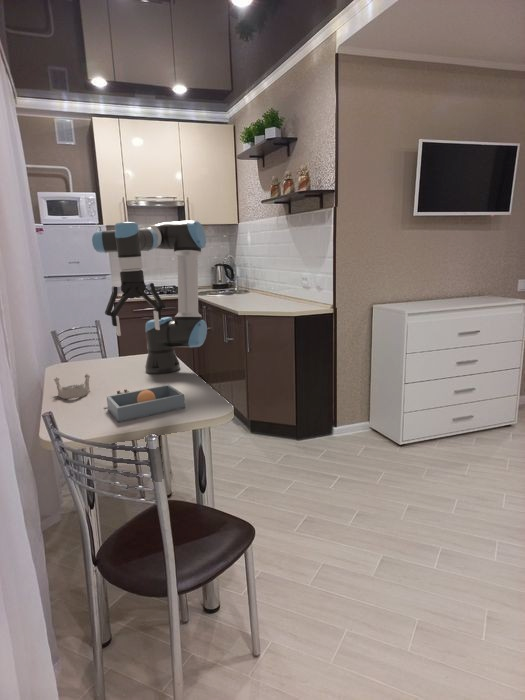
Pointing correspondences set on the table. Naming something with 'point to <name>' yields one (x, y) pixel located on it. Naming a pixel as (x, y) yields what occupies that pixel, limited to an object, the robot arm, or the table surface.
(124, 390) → the tan knobbed round piece
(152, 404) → the tray
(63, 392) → the anatomical model
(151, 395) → the ball
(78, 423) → the table surface
